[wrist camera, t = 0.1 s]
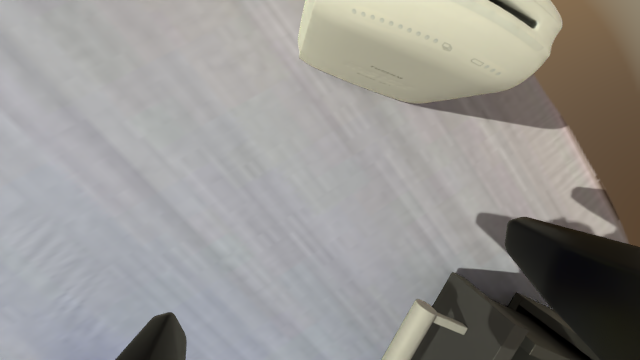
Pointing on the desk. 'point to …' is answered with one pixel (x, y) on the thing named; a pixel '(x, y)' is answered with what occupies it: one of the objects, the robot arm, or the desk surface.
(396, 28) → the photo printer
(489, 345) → the drawer
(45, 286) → the desk surface
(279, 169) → the desk surface
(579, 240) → the robot arm
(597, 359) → the dark grey box
